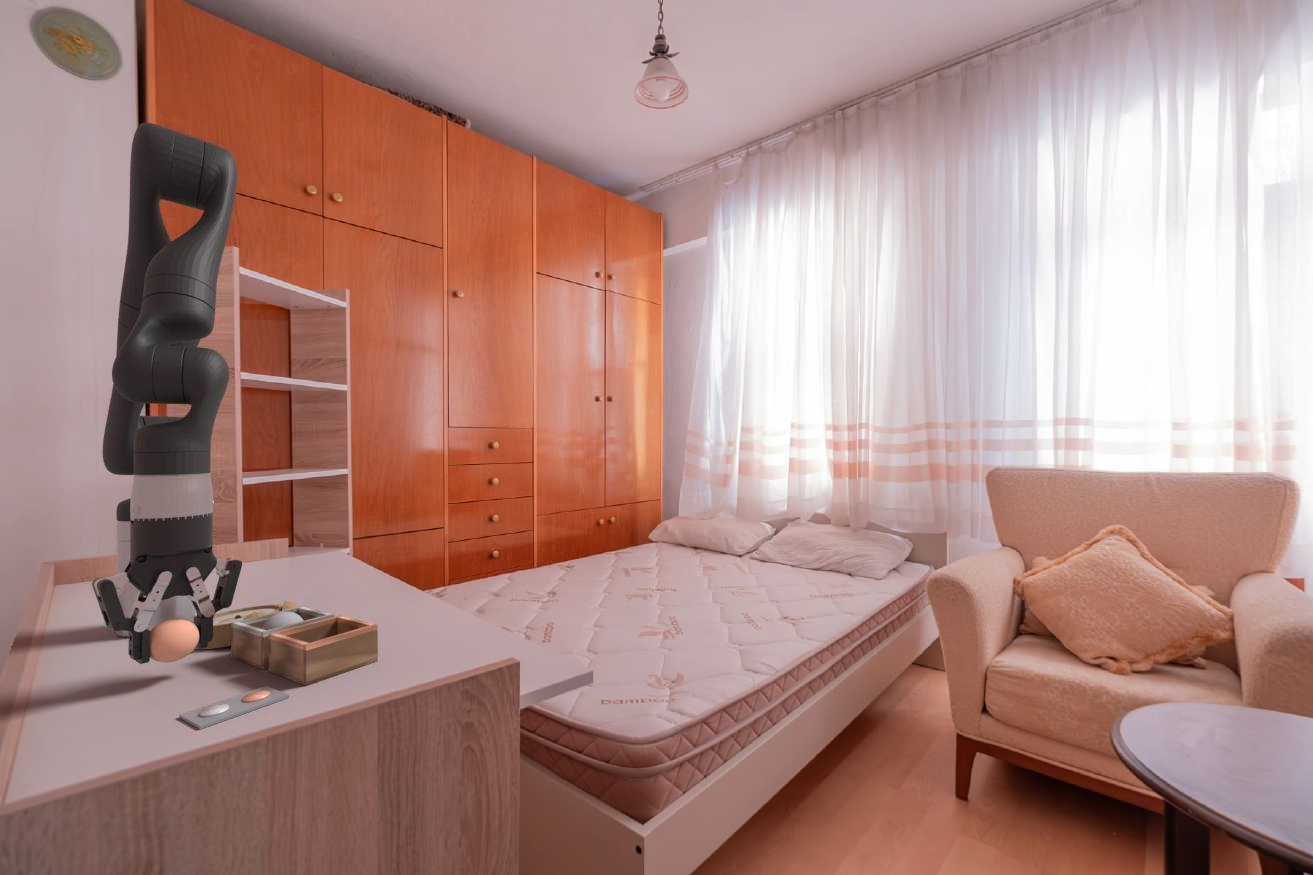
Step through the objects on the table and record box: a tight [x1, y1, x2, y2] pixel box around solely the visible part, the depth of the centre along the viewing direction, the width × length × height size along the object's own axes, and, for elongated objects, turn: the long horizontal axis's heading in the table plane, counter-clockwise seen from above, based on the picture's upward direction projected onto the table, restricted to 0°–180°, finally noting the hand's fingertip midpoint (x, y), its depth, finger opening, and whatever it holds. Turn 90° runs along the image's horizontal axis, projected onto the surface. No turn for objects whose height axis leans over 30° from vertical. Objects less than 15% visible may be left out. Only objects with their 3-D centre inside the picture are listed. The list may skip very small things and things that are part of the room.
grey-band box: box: [230, 606, 335, 670], centre depth 76 cm, size 9×9×5 cm
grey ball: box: [262, 612, 304, 630], centre depth 76 cm, size 5×5×5 cm
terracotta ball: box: [150, 618, 199, 664], centre depth 67 cm, size 5×5×5 cm
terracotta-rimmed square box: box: [268, 615, 379, 687], centre depth 71 cm, size 9×9×5 cm
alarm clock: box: [193, 600, 299, 650], centre depth 83 cm, size 11×5×15 cm
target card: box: [178, 685, 290, 730], centre depth 60 cm, size 5×8×1 cm, turn 149°
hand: (172, 653), depth 67 cm, fingers closed on terracotta ball, 5 cm apart
